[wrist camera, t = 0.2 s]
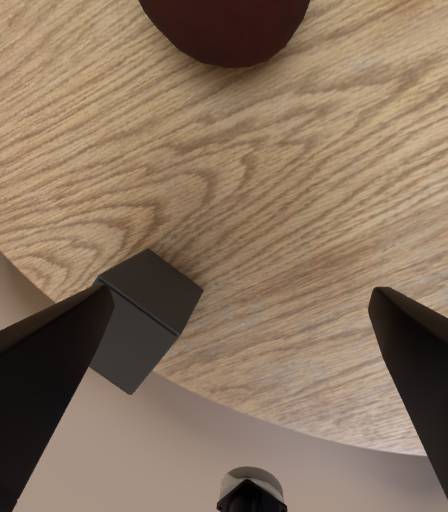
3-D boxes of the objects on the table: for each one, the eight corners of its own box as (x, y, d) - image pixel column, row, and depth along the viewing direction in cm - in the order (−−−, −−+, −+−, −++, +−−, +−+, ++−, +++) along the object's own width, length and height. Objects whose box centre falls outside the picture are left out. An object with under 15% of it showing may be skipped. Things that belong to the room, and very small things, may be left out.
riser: (166, 336, 28) (129, 398, 20) (113, 298, 27) (53, 344, 19) (204, 289, 26) (180, 336, 18) (147, 247, 25) (96, 275, 17)
